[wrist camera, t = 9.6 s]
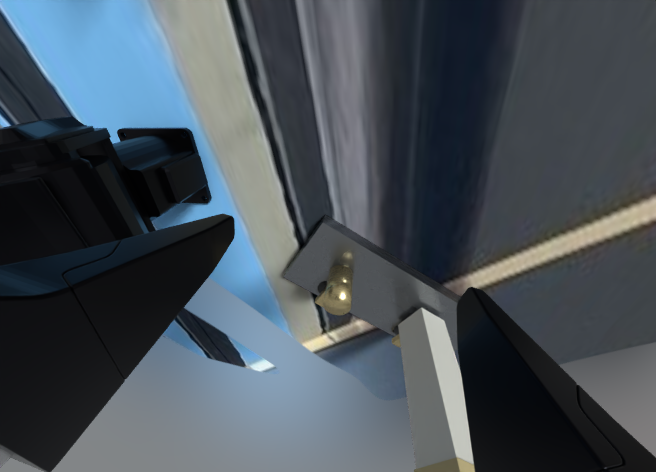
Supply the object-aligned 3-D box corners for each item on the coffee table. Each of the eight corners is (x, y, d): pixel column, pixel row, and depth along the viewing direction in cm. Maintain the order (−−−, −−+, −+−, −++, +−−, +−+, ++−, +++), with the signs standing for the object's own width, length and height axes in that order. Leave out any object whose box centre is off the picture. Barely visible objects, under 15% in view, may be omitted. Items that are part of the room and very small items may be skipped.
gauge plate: (287, 268, 27) (271, 307, 23) (325, 214, 23) (314, 249, 18) (435, 348, 31) (447, 395, 27) (490, 315, 27) (516, 364, 22)
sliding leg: (383, 333, 28) (394, 491, 17) (421, 304, 25) (460, 475, 14) (406, 344, 29) (429, 504, 18) (445, 318, 26) (500, 492, 15)
